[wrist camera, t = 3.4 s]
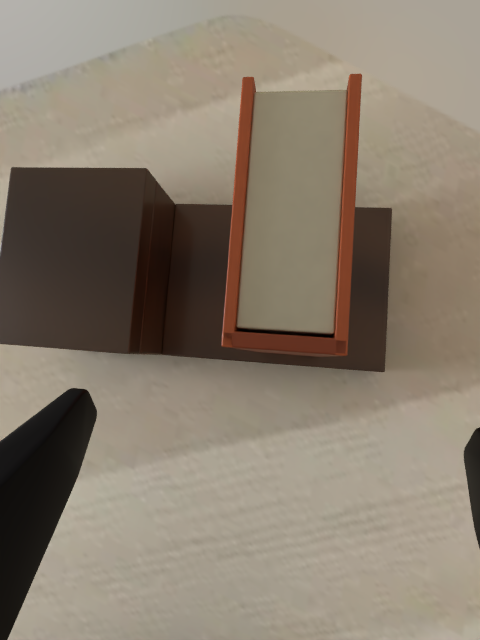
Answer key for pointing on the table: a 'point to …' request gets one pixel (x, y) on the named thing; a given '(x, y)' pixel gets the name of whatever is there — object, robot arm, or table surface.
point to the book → (293, 221)
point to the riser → (150, 270)
